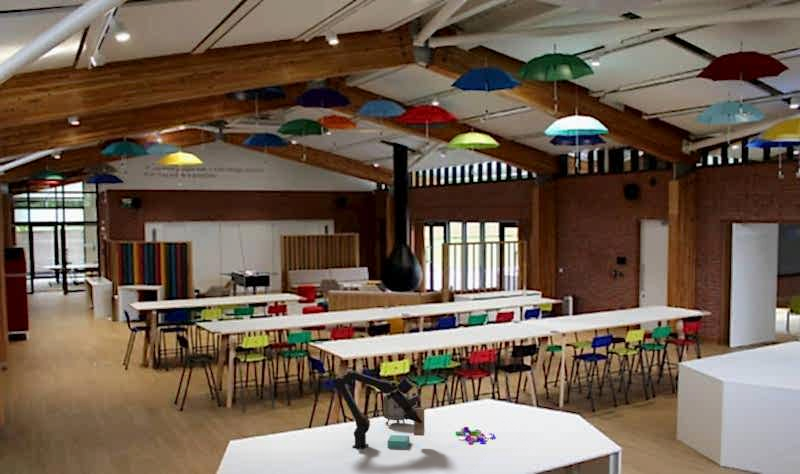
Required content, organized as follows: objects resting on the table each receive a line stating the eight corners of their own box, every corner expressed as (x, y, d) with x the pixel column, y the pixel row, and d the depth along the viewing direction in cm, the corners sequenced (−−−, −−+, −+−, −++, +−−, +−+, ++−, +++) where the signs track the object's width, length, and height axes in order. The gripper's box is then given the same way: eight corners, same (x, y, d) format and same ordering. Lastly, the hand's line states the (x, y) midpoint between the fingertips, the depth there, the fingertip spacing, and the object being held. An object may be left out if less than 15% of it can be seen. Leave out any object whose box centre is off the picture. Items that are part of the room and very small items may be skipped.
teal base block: (406, 449, 352) (406, 441, 352) (387, 448, 353) (387, 440, 353) (409, 443, 362) (409, 435, 361) (391, 442, 363) (390, 435, 363)
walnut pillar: (423, 435, 351) (423, 410, 351) (414, 435, 351) (414, 410, 351) (424, 432, 356) (424, 408, 356) (414, 432, 356) (414, 407, 356)
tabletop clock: (382, 425, 394) (382, 382, 393) (387, 421, 402) (386, 379, 402) (406, 427, 389) (405, 383, 389) (411, 422, 398) (410, 380, 398)
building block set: (498, 444, 357) (498, 435, 357) (460, 445, 356) (460, 437, 356) (489, 430, 382) (489, 422, 382) (453, 431, 381) (453, 423, 381)
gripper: (409, 393, 344) (431, 415, 344) (412, 385, 363) (433, 405, 362) (394, 408, 345) (416, 430, 344) (398, 399, 364) (418, 420, 363)
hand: (421, 421), depth 354 cm, fingers closed on walnut pillar, 5 cm apart
